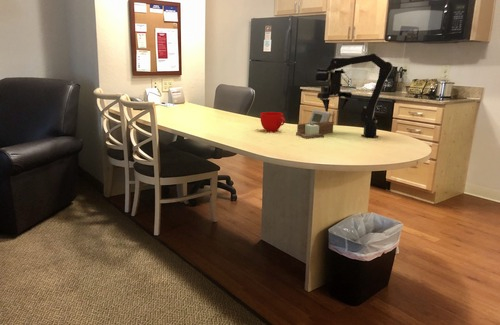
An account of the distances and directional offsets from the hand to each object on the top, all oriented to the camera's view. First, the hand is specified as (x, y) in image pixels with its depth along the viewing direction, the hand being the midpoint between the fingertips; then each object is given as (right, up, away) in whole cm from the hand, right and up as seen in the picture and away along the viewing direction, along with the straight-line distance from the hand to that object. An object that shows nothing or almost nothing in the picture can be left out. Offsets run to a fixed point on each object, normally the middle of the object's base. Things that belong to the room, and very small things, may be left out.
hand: (333, 111), depth 213 cm
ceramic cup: (-32, -10, +10) cm, 35 cm away
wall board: (-8, -13, -1) cm, 15 cm away
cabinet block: (-12, -14, -3) cm, 19 cm away
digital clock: (-5, -8, +19) cm, 21 cm away
